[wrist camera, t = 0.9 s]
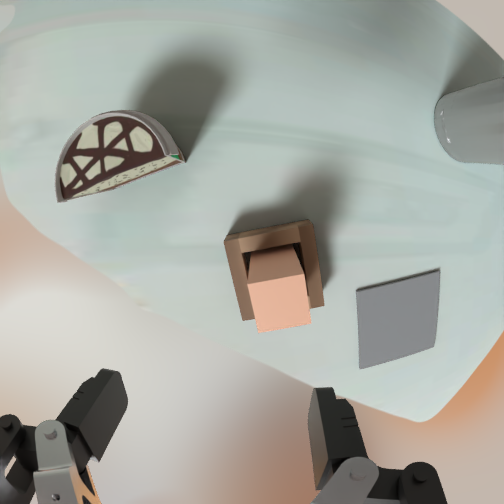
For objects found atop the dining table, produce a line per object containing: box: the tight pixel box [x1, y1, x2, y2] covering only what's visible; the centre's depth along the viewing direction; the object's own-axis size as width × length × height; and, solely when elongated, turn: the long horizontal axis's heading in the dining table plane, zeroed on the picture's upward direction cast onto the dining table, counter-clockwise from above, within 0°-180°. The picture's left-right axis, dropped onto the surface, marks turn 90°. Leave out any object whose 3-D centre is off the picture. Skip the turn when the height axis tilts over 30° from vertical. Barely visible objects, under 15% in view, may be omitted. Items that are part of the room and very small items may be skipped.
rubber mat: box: [356, 271, 440, 369], centre depth 35 cm, size 12×12×1 cm
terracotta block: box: [247, 243, 311, 333], centre depth 28 cm, size 4×4×10 cm
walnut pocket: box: [224, 220, 324, 321], centre depth 32 cm, size 9×9×3 cm
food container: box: [55, 110, 186, 203], centre depth 25 cm, size 12×6×10 cm, turn 106°
